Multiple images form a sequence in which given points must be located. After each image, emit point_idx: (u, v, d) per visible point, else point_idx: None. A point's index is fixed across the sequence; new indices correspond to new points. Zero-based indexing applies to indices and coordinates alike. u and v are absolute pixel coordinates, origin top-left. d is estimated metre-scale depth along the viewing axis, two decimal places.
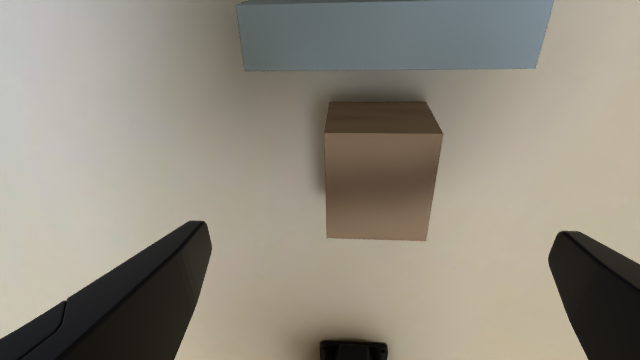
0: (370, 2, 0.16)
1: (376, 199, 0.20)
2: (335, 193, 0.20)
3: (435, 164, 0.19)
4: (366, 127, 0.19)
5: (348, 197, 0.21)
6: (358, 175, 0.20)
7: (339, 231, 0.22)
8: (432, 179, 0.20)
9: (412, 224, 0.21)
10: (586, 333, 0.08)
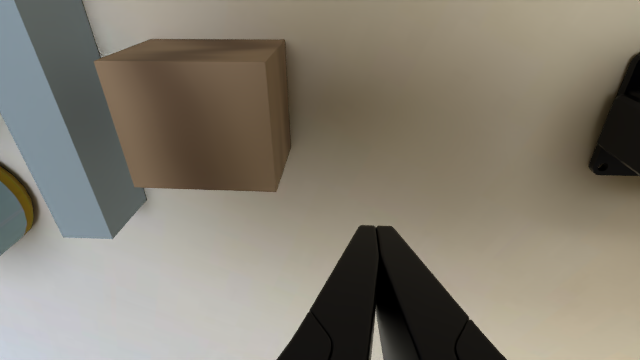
0: (16, 139, 0.18)
1: (205, 133, 0.16)
2: (207, 180, 0.17)
3: (136, 65, 0.14)
4: None
5: (209, 165, 0.17)
6: (176, 155, 0.16)
7: (263, 177, 0.17)
8: (158, 66, 0.14)
9: (237, 85, 0.15)
10: (380, 323, 0.08)
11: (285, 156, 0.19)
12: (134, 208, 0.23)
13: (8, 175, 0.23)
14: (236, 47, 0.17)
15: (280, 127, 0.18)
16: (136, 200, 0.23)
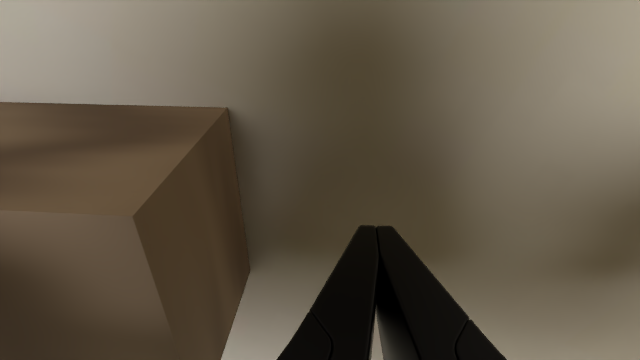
0: None
1: (35, 333, 0.07)
2: None
3: None
4: None
5: None
6: None
7: None
8: None
9: (77, 257, 0.06)
10: (380, 323, 0.08)
11: (233, 308, 0.11)
12: None
13: None
14: (115, 137, 0.08)
15: (214, 280, 0.09)
16: None
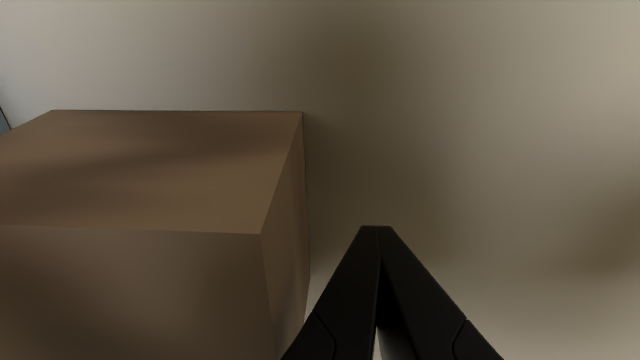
0: None
1: (129, 352, 0.07)
2: None
3: None
4: None
5: None
6: None
7: None
8: None
9: (191, 276, 0.06)
10: (378, 323, 0.08)
11: (302, 319, 0.11)
12: None
13: None
14: (201, 147, 0.08)
15: (294, 292, 0.09)
16: None
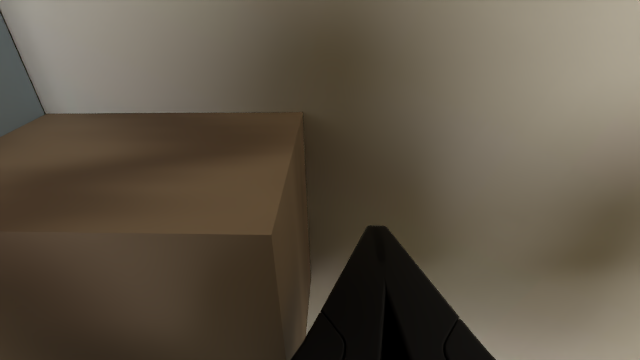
0: None
1: (134, 359, 0.07)
2: None
3: None
4: None
5: None
6: None
7: None
8: None
9: (199, 279, 0.06)
10: None
11: (305, 320, 0.11)
12: None
13: None
14: (203, 149, 0.08)
15: (299, 294, 0.09)
16: None
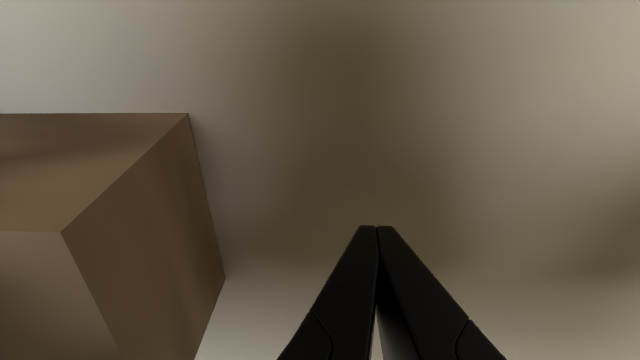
0: None
1: None
2: None
3: None
4: None
5: None
6: None
7: None
8: None
9: (10, 276, 0.06)
10: (380, 323, 0.08)
11: (204, 319, 0.11)
12: None
13: None
14: (64, 147, 0.08)
15: (177, 292, 0.09)
16: None
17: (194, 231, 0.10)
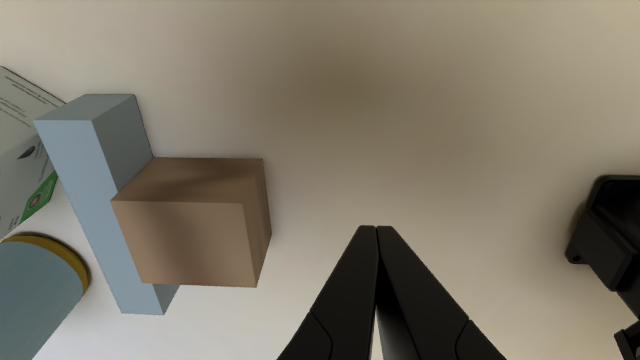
0: (91, 243, 0.22)
1: (198, 248, 0.20)
2: (200, 278, 0.21)
3: (142, 203, 0.19)
4: None
5: (201, 269, 0.21)
6: (175, 262, 0.21)
7: (245, 277, 0.21)
8: (160, 204, 0.18)
9: (221, 217, 0.19)
10: (380, 323, 0.08)
11: (265, 248, 0.23)
12: None
13: (69, 252, 0.27)
14: (222, 175, 0.21)
15: (259, 232, 0.22)
16: None
17: (263, 208, 0.23)
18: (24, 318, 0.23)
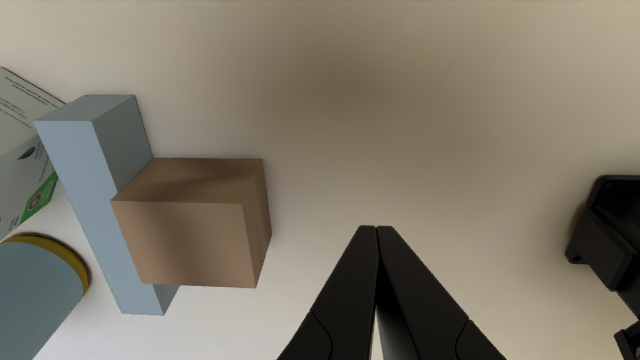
0: (91, 243, 0.22)
1: (198, 249, 0.20)
2: (200, 279, 0.21)
3: (142, 204, 0.19)
4: None
5: (201, 269, 0.21)
6: (175, 262, 0.21)
7: (244, 278, 0.21)
8: (160, 205, 0.18)
9: (221, 218, 0.19)
10: (380, 323, 0.08)
11: (265, 249, 0.23)
12: None
13: (69, 253, 0.27)
14: (222, 175, 0.21)
15: (259, 233, 0.22)
16: None
17: (263, 209, 0.23)
18: (24, 318, 0.23)
